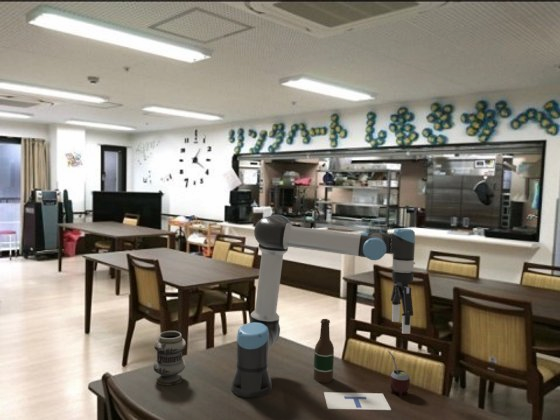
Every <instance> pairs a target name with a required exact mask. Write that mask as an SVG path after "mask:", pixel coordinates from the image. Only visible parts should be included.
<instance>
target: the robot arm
mask: <svg viewBox="0 0 560 420" xmlns="http://www.w3.org/2000/svg"><path fill="white" fill-rule="evenodd" d="M253 233H254V234H253V235H254V238H255V240H256V241H257V243H258V249H259V250H260V251H261V255H260V256H261V258H260V265H259V273H258V281H257V289H256V290H257V291H256V299H255V307H254V310H253V311H252V312H251V313H250V318H249V322H247V323H245V324H242V325H241V326H240V327H239V329H238V330H237V333H236V334H237V335H236V369H235V372H234V375H233V377H232V380H231V383H230V385H231V387H230V388H231V391H232V393H233V394H235V395H236V396H239V397H242V398H248V399H249V398H251V399H253V398H260V397H264V396H267V395H268V394H270V393H271V392H272V387H273V386H272V385H273V383H272V380H271V375H270V371H269V369H268V364H269V351H270V350H271V348H272V347H273V346H274V344H275V343H276V342H277V341H278V339H279V337H280V335H281V326H280V323H279V322H280V315H279V314H278V313H277V308H278V301H279V295H280V294H279V293H280V285H281V275H282V270H283V269H282V267H283V259H284V254H286V253H287V252H288V249H289V248H294V249H296V248H297V249H304V250H310V251H318V252H325V253H331V254H332V253H333V254H340V255H346V256H347V255H348V256H355V257H361V258H367V259H369V260H371V261H378V260H381V259H382V258H383V257H384V256H385V255H386V254H387V255H392V272H391V273H392V274H391V281H393V287H392V292H391V297H390V301H391V304H392V307H391V310H392V311H391V312H392V313H391V322H392V323H399V322H400V317H401V316H402V319H401V320H402V322H401V323H402V324H401V333H402V334H407V335H408V334H410V335H411V322H412V321H411V320H412V319H411V318H412V316H414V308H413V298H412V297H413V296H412V287H409V283H410V284H411V283H412V282H413V281H414V272H413V271H414V269H415V268H414V265H416V262H415V246H416V245H415V244H416V239H415V237H416V236H415V235H416V234H415V231H414V230H413V229H411V228H395V229H394V230H393V233H383V232H382V233H379V232H362V233H361V234H356V233H348V232H346V233H345V232H339V231H332V230H324V229H317V228H309V227H308V228H307V227H301V226H295V225H292V223H291V220H289V218H287V217H286V216H284V215H281V214H270V215H269V216H265V217H262V218H260V219H259V220H258V221H257V222H256V224H255V226H254V231H253ZM401 305H402V311H403V313H402V314H400V313H401V310H400V309H401ZM400 315H401V316H400Z"/></svg>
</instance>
